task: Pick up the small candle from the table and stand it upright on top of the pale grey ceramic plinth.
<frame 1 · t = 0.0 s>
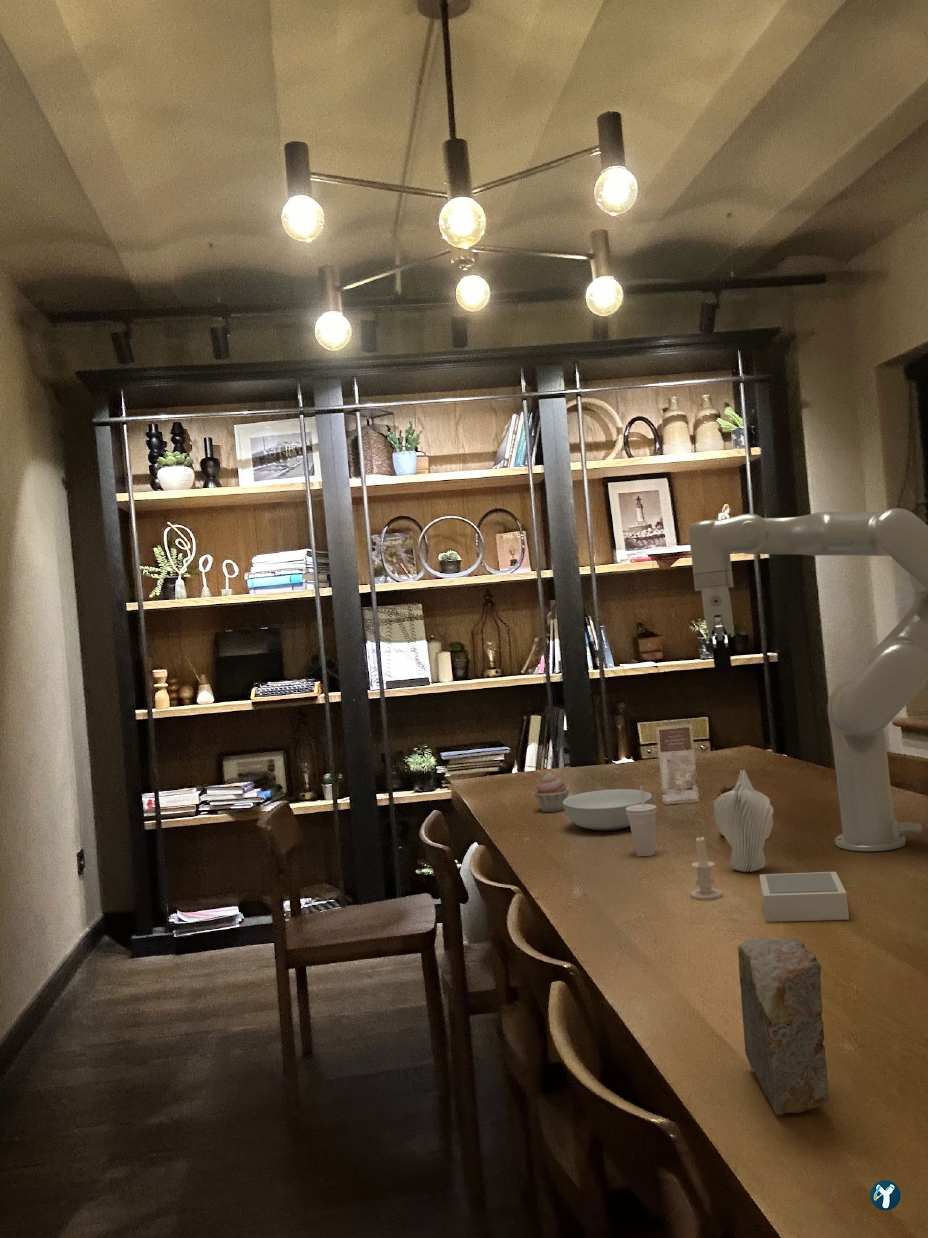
hand: (722, 666, 193), 37 cm above the table, tool pointing down, fingers open, 9 cm apart
serving bowl: (610, 827, 227), on the table
candle: (706, 896, 165), on the table
shell sculpture: (750, 871, 178), on the table
plinth: (803, 908, 153), on the table
geological specimen: (789, 1092, 97), on the table
smoothie: (645, 855, 197), on the table
cupcake: (553, 811, 253), on the table
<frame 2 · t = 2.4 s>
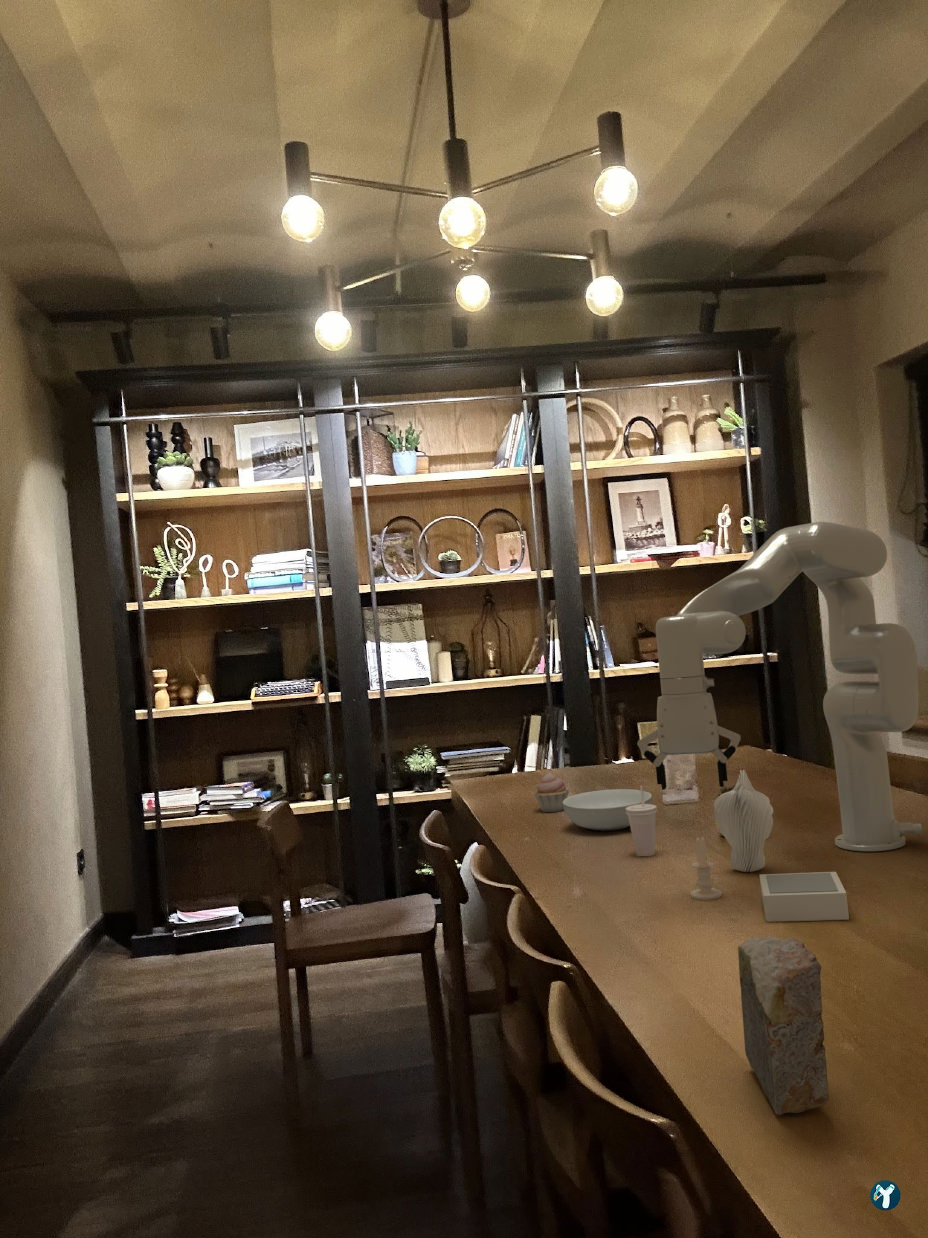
hand: (692, 787, 165), 19 cm above the table, tool pointing down, fingers open, 9 cm apart
nothing on the table moved.
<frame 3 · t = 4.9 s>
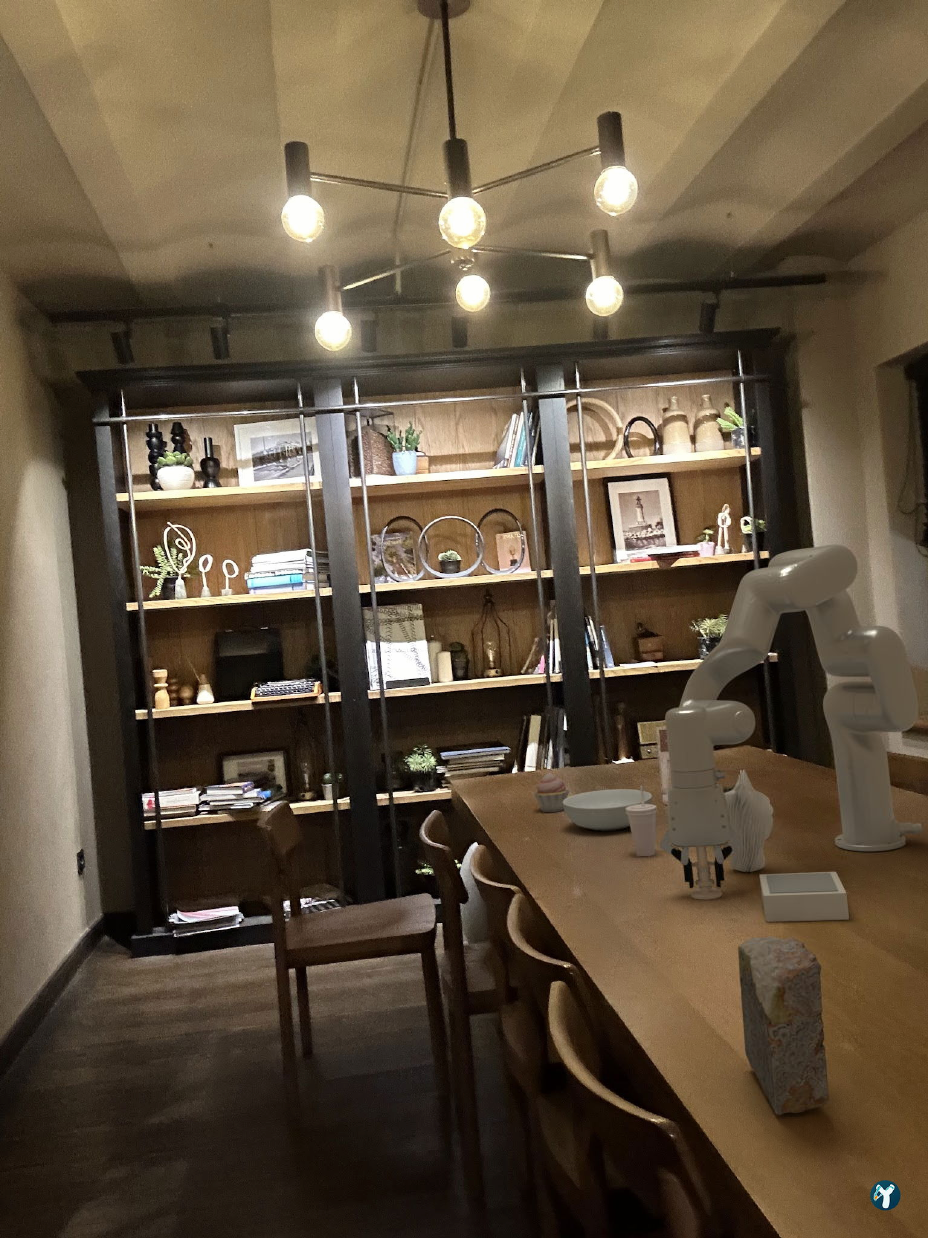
hand: (705, 884, 165), 2 cm above the table, tool pointing down, fingers closed on candle, 3 cm apart
candle: (706, 896, 165), on the table, touching gripper
everything else where it was.
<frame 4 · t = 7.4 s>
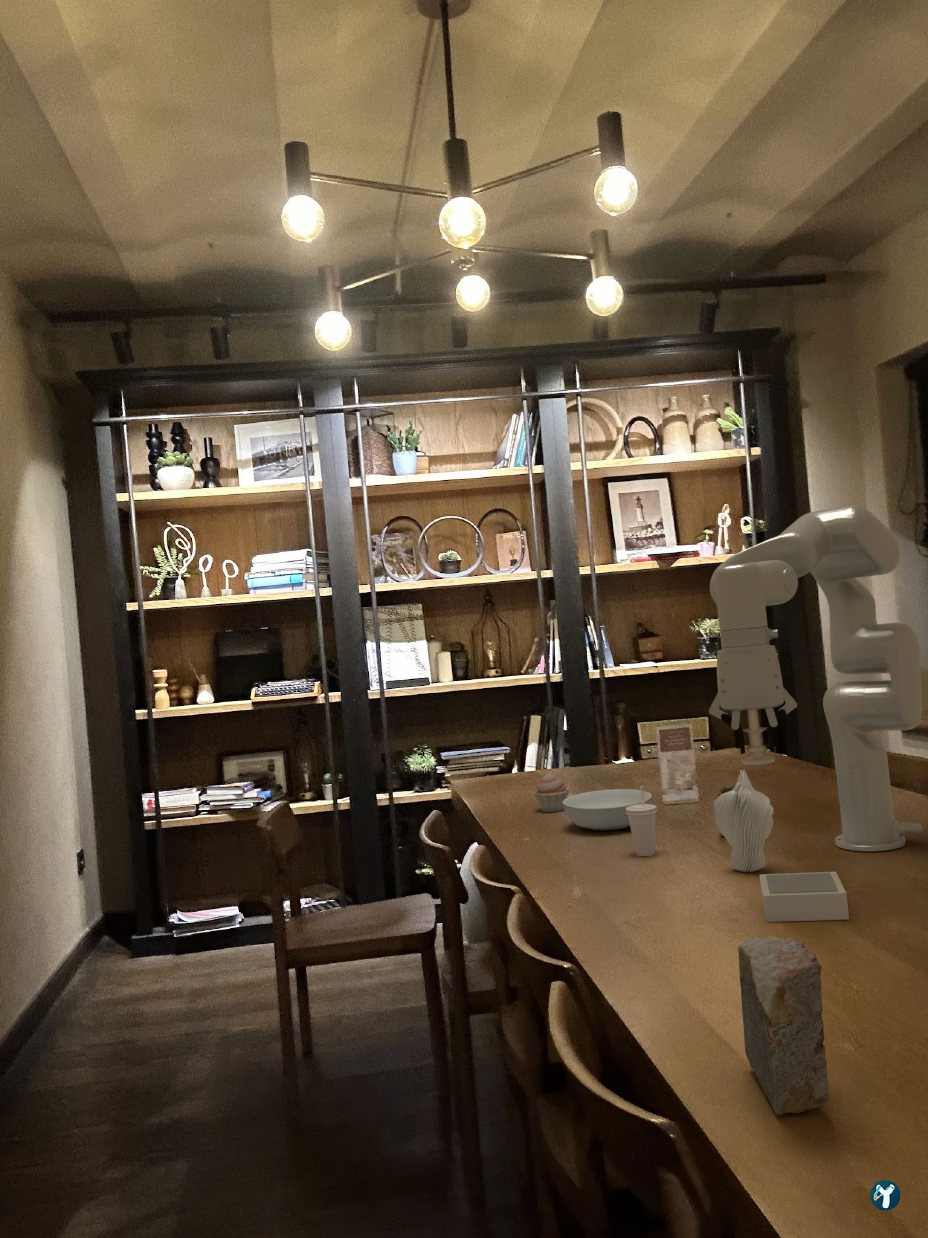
hand: (757, 750, 157), 25 cm above the table, tool pointing down, fingers closed on candle, 3 cm apart
candle: (758, 763, 156), point 23 cm above the table, touching gripper
everything else where it was.
when the fingers open (7 cm above the table, at t = 10.1 s): candle stays where it is, resting on plinth.
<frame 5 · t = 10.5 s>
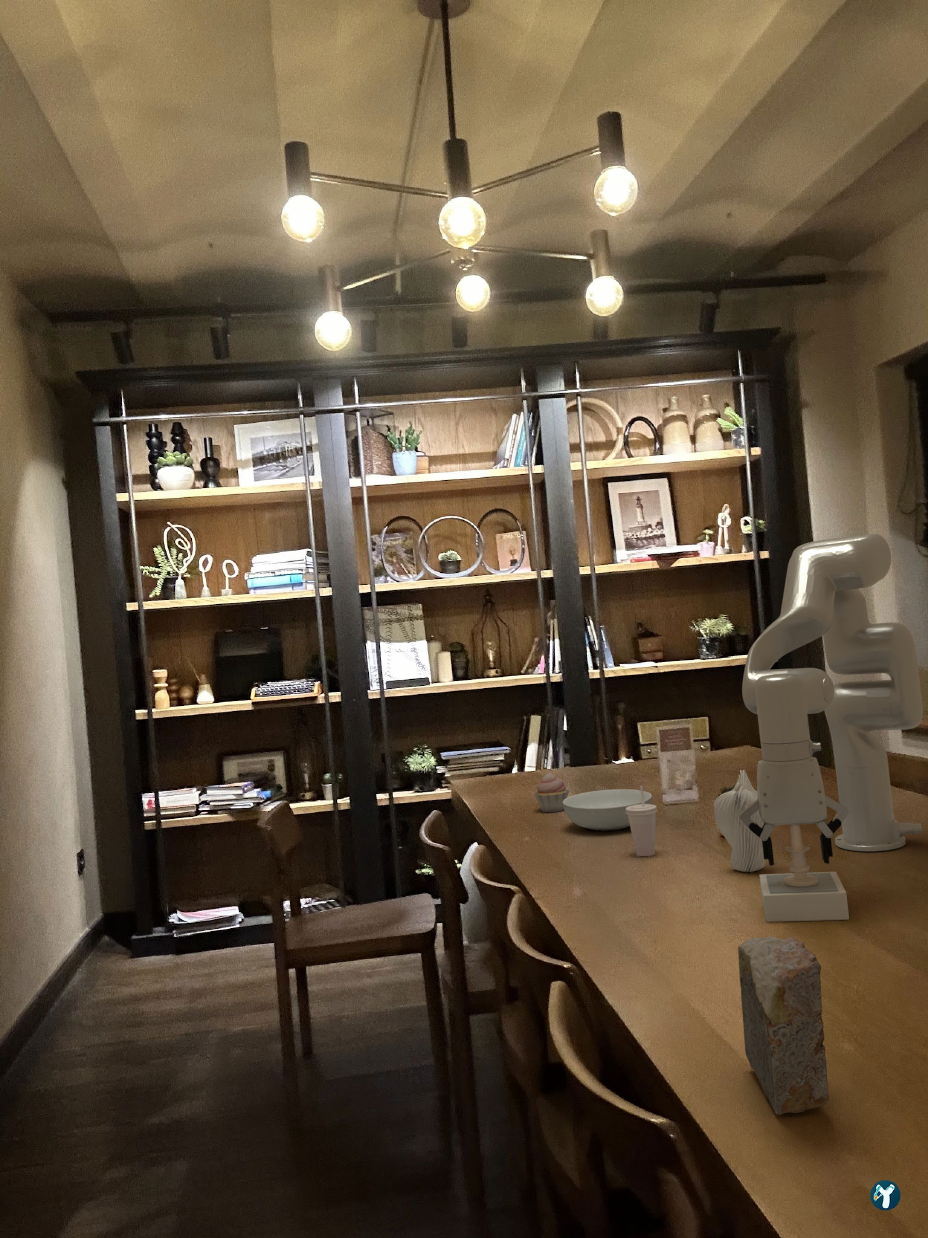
hand: (798, 862, 153), 7 cm above the table, tool pointing down, fingers open, 7 cm apart
candle: (801, 883, 153), point 4 cm above the table, touching plinth
everything else where it was.
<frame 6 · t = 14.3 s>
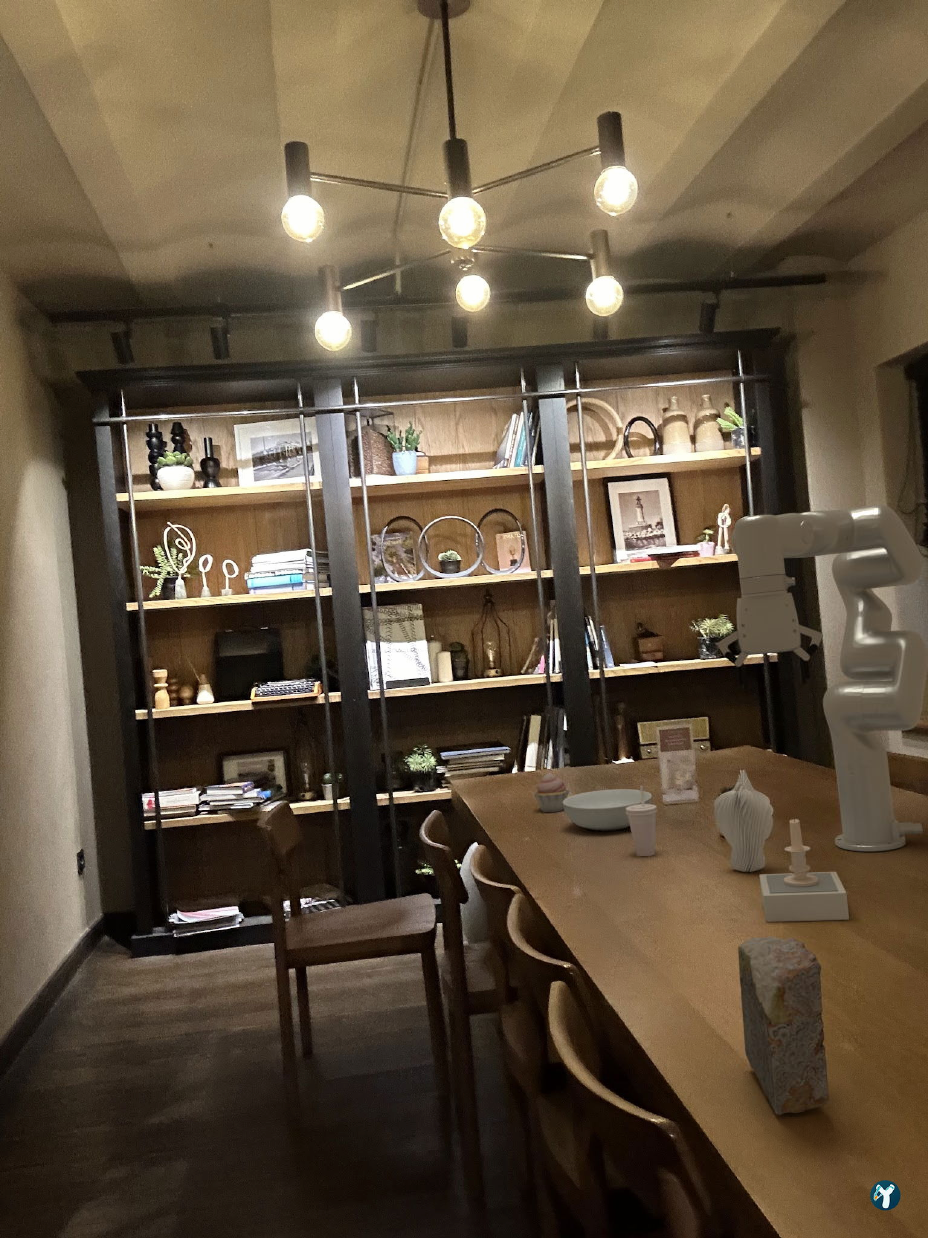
hand: (774, 686, 166), 34 cm above the table, tool pointing down, fingers open, 9 cm apart
nothing on the table moved.
at the end: candle inside the target area on the plinth (0.1 cm from its centre), point 4.0 cm above the plinth's base; candle tilted 0°; the gripper is holding nothing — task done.
